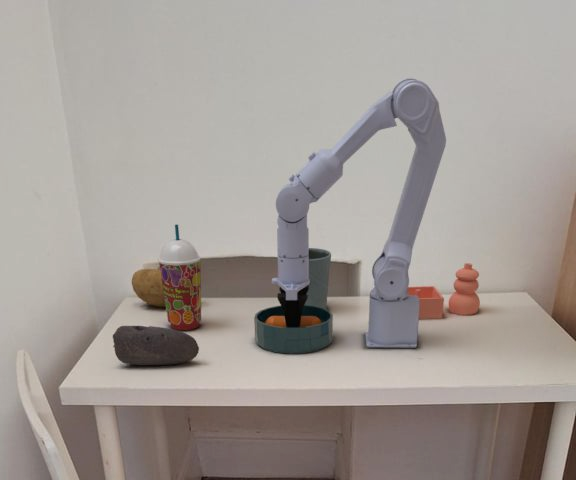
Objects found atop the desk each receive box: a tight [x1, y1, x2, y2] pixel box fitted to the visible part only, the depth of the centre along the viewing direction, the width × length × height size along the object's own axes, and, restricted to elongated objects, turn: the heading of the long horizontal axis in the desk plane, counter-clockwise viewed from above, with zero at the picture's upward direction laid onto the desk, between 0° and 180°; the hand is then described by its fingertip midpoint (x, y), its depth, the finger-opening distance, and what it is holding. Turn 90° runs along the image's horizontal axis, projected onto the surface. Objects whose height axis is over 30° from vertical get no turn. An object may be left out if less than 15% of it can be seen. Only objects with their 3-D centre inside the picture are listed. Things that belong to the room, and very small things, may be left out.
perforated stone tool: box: [112, 325, 200, 366], centre depth 134 cm, size 15×5×7 cm, turn 88°
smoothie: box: [157, 224, 202, 331], centre depth 150 cm, size 8×8×20 cm
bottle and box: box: [407, 262, 481, 320], centre depth 159 cm, size 18×10×10 cm, turn 93°
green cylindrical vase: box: [305, 247, 332, 310], centre depth 161 cm, size 10×10×12 cm
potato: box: [131, 268, 166, 308], centre depth 166 cm, size 10×14×8 cm
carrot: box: [265, 316, 321, 327], centre depth 144 cm, size 11×4×4 cm, turn 87°
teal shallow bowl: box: [253, 305, 334, 355], centre depth 145 cm, size 15×15×5 cm
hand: (293, 327), depth 145 cm, fingers closed on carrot, 3 cm apart
